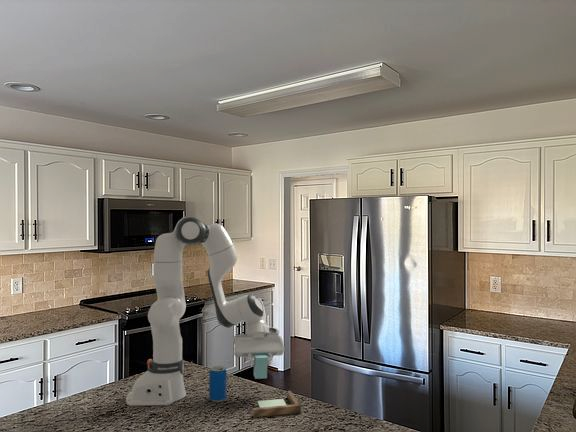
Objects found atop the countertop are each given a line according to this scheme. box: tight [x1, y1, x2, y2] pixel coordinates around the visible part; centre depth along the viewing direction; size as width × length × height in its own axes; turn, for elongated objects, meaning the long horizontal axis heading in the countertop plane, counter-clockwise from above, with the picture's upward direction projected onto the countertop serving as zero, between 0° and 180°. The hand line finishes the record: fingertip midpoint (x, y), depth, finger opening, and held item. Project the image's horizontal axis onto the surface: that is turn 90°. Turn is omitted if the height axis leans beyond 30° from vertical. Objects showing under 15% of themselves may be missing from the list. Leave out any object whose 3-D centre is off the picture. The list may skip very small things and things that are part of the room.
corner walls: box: [252, 390, 302, 418], centre depth 166 cm, size 17×15×2 cm
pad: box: [257, 398, 287, 408], centre depth 167 cm, size 10×10×1 cm
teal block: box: [253, 354, 269, 380], centre depth 176 cm, size 4×4×8 cm
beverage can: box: [208, 365, 227, 403], centre depth 173 cm, size 6×6×12 cm
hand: (260, 365), depth 175 cm, fingers closed on teal block, 4 cm apart
